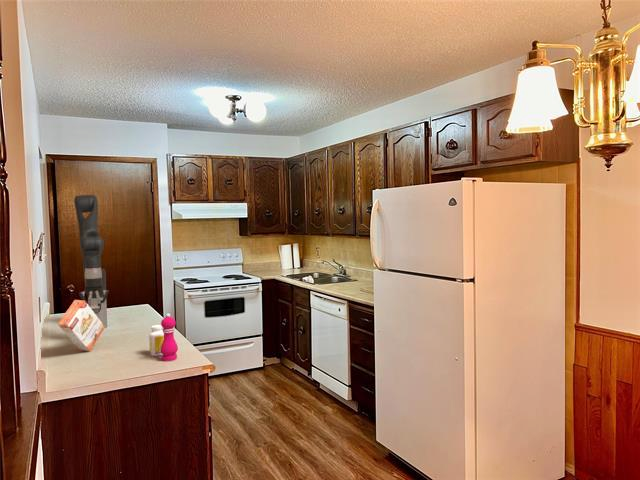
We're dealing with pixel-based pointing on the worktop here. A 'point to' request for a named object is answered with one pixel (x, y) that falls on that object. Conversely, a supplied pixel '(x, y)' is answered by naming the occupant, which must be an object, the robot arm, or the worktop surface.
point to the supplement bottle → (156, 340)
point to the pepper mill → (168, 339)
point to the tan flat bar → (95, 308)
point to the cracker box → (81, 325)
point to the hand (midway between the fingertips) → (94, 311)
